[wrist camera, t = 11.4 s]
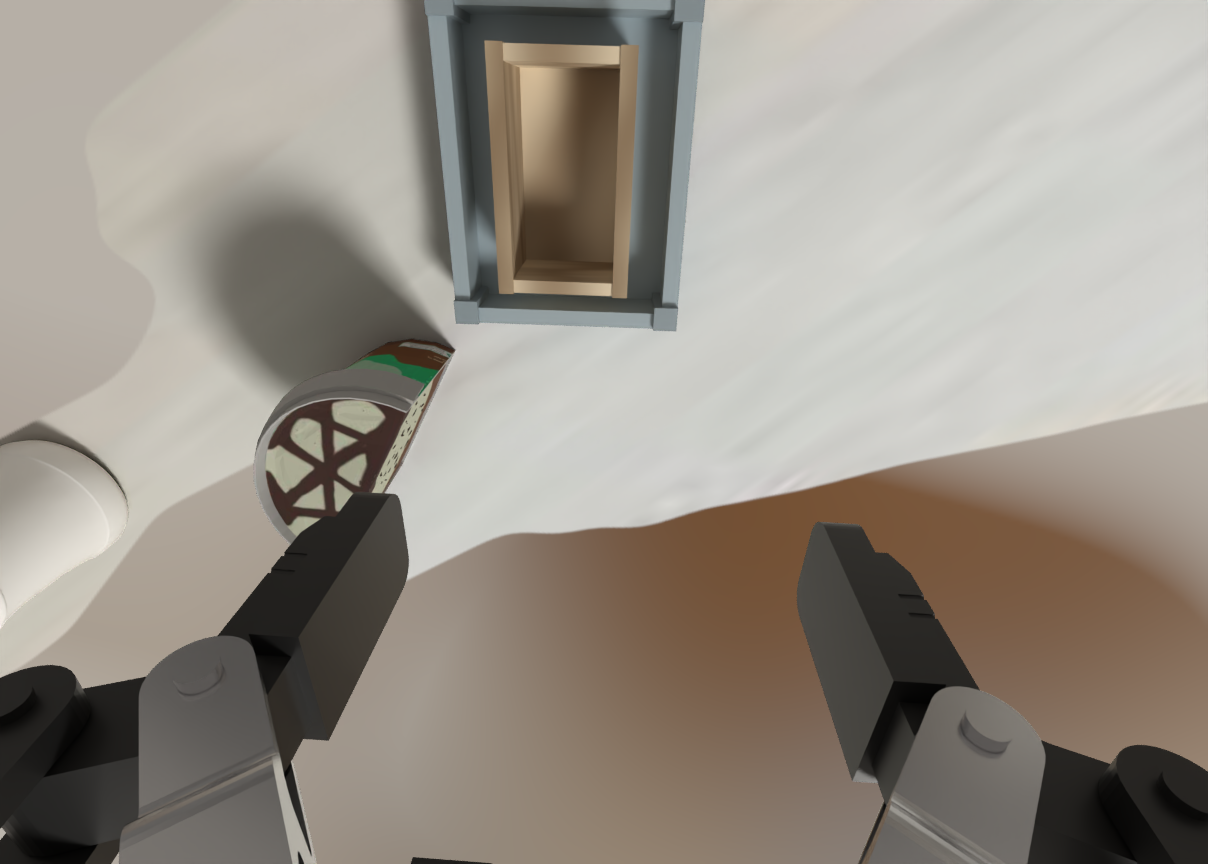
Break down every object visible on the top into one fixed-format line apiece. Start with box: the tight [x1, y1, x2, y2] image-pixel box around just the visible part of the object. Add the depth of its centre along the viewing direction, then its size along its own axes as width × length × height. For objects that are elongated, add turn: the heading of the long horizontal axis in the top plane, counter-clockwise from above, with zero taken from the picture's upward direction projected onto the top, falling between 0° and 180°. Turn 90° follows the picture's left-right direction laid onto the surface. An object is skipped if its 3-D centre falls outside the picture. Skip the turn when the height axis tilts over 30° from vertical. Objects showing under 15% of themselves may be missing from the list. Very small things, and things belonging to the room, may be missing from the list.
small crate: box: [484, 40, 639, 298], centre depth 28 cm, size 6×10×5 cm, turn 178°
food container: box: [254, 339, 455, 545], centre depth 33 cm, size 12×6×10 cm, turn 151°
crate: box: [424, 0, 705, 331], centre depth 29 cm, size 12×15×4 cm
